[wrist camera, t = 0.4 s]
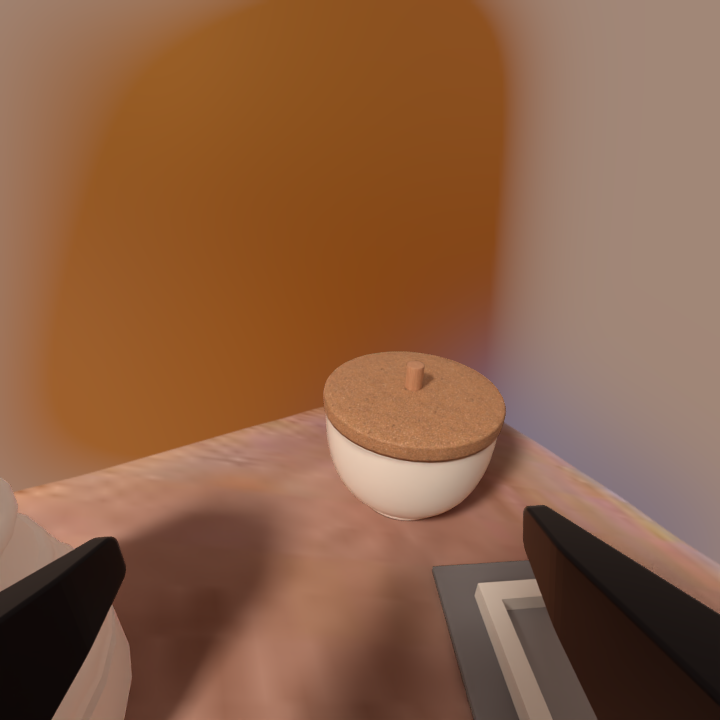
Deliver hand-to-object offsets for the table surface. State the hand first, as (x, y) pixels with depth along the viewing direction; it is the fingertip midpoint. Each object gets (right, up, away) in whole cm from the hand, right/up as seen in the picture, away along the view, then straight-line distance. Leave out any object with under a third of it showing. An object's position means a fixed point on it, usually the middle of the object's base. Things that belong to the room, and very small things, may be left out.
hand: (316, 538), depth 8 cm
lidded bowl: (+4, -6, +23) cm, 24 cm away
